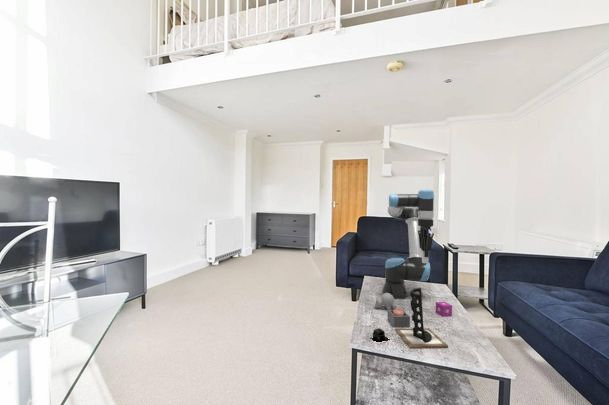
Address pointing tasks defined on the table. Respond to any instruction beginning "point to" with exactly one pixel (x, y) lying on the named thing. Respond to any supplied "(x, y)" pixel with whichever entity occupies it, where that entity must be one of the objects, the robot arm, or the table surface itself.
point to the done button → (398, 312)
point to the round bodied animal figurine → (385, 301)
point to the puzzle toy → (443, 309)
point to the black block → (379, 335)
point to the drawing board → (418, 343)
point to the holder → (415, 316)
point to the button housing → (399, 319)
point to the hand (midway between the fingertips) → (425, 262)
